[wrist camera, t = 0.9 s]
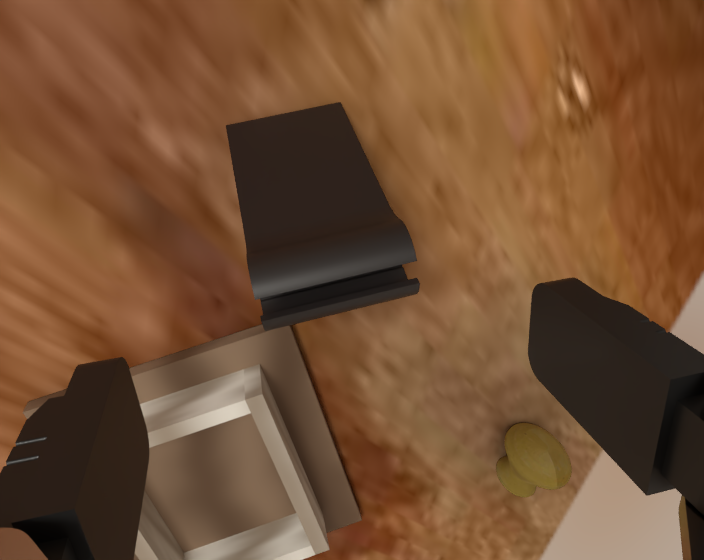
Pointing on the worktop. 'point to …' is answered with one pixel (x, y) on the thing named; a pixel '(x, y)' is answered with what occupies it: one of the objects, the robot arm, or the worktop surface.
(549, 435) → the knob
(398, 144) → the worktop surface
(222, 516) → the collar stand
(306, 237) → the phone stand
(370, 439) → the worktop surface
